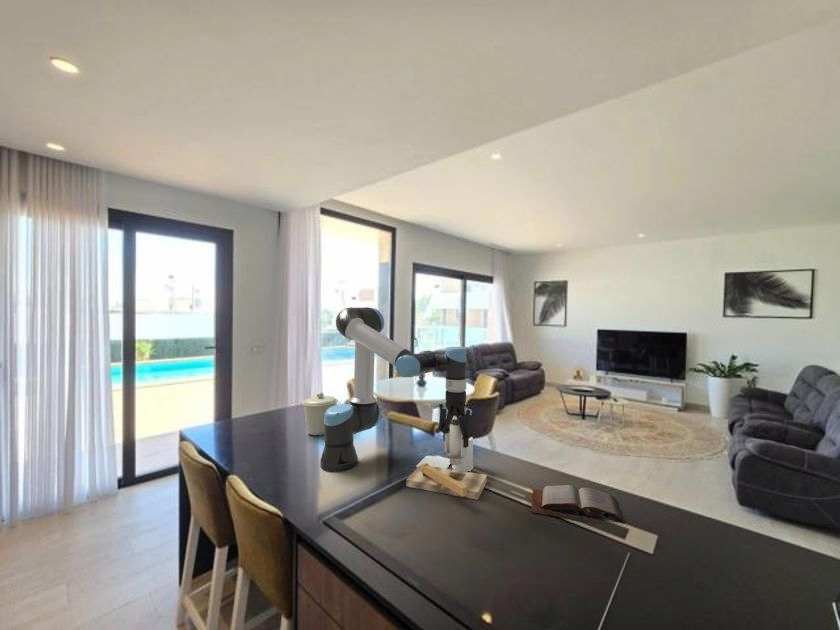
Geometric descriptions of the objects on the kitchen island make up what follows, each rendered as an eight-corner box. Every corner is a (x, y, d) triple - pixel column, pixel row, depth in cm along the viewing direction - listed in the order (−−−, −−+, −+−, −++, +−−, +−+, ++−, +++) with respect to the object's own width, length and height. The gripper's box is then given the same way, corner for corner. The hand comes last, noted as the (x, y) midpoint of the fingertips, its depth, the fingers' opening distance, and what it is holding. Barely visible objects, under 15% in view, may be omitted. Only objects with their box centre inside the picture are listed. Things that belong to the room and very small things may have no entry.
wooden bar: (419, 471, 136) (419, 464, 136) (425, 469, 137) (425, 462, 137) (461, 497, 116) (461, 488, 116) (467, 494, 118) (467, 486, 118)
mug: (461, 477, 139) (460, 445, 139) (443, 471, 145) (442, 440, 145) (477, 467, 148) (477, 437, 148) (460, 461, 154) (459, 432, 154)
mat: (416, 467, 148) (415, 466, 148) (426, 456, 159) (426, 455, 159) (444, 472, 144) (444, 470, 144) (453, 460, 155) (453, 459, 155)
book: (633, 533, 104) (633, 517, 105) (530, 514, 114) (530, 499, 114) (620, 503, 123) (621, 490, 123) (533, 488, 133) (533, 476, 133)
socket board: (406, 486, 132) (406, 475, 132) (421, 470, 145) (420, 461, 145) (477, 499, 122) (477, 488, 122) (486, 481, 135) (486, 471, 135)
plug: (444, 464, 133) (444, 421, 133) (449, 457, 139) (449, 416, 139) (461, 467, 130) (462, 423, 130) (466, 460, 136) (466, 418, 136)
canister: (333, 438, 184) (333, 396, 184) (297, 438, 184) (296, 396, 184) (341, 427, 202) (341, 388, 202) (308, 427, 202) (308, 388, 202)
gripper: (428, 387, 138) (428, 449, 138) (472, 396, 125) (472, 463, 125) (441, 384, 144) (441, 443, 144) (484, 392, 130) (484, 457, 131)
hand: (455, 452), depth 135 cm, fingers closed on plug, 6 cm apart
